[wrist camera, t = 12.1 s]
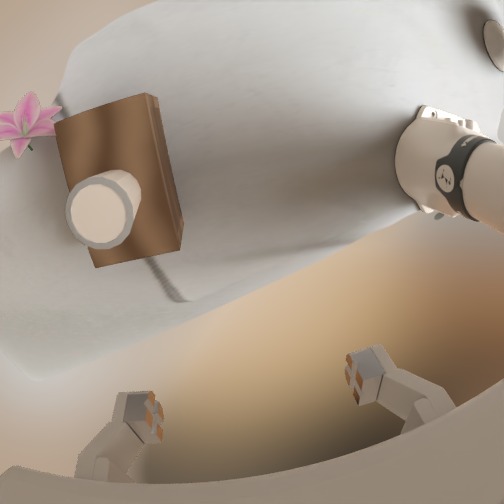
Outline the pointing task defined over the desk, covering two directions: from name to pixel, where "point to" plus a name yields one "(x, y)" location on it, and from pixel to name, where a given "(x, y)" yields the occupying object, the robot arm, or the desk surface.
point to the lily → (27, 123)
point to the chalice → (495, 43)
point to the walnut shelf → (130, 160)
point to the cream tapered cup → (103, 208)
